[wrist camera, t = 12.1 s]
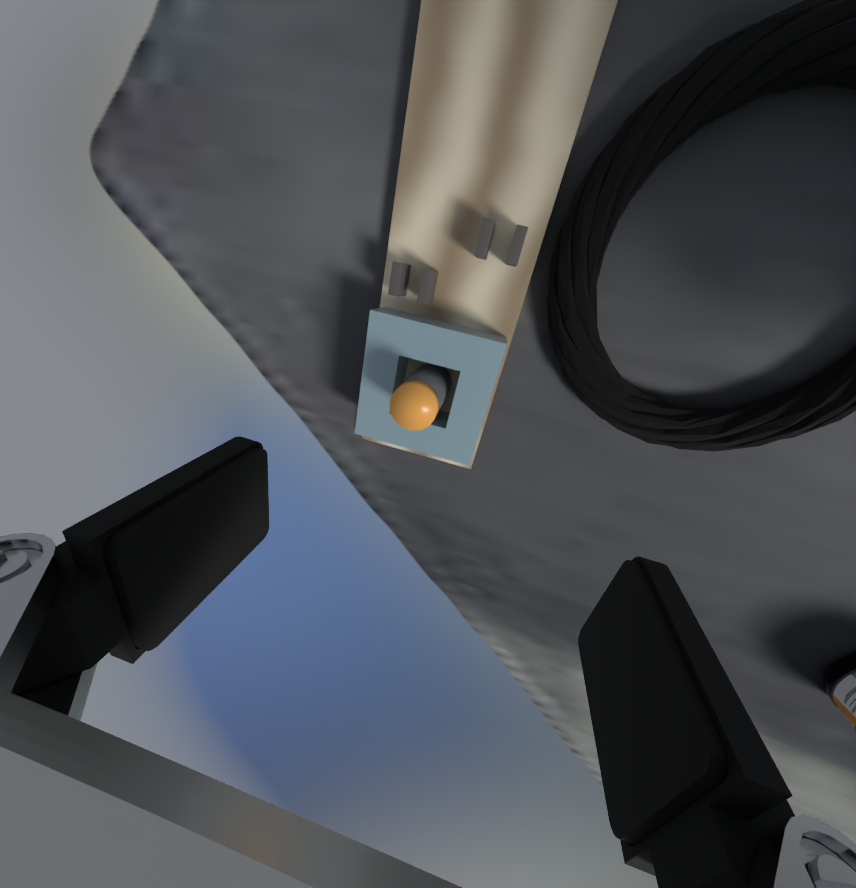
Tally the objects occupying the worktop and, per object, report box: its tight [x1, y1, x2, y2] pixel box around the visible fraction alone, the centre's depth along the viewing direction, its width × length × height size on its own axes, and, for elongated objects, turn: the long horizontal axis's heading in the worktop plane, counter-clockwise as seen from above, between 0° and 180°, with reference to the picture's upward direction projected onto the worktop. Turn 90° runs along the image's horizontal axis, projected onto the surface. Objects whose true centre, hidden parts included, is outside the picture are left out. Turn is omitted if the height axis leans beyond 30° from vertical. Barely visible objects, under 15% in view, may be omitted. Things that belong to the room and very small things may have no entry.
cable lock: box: [547, 0, 856, 451], centre depth 24 cm, size 28×4×30 cm
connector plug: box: [389, 363, 452, 431], centre depth 29 cm, size 4×4×8 cm
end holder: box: [355, 307, 507, 466], centre depth 31 cm, size 11×11×4 cm
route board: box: [362, 0, 618, 469], centre depth 27 cm, size 12×36×4 cm, turn 168°
